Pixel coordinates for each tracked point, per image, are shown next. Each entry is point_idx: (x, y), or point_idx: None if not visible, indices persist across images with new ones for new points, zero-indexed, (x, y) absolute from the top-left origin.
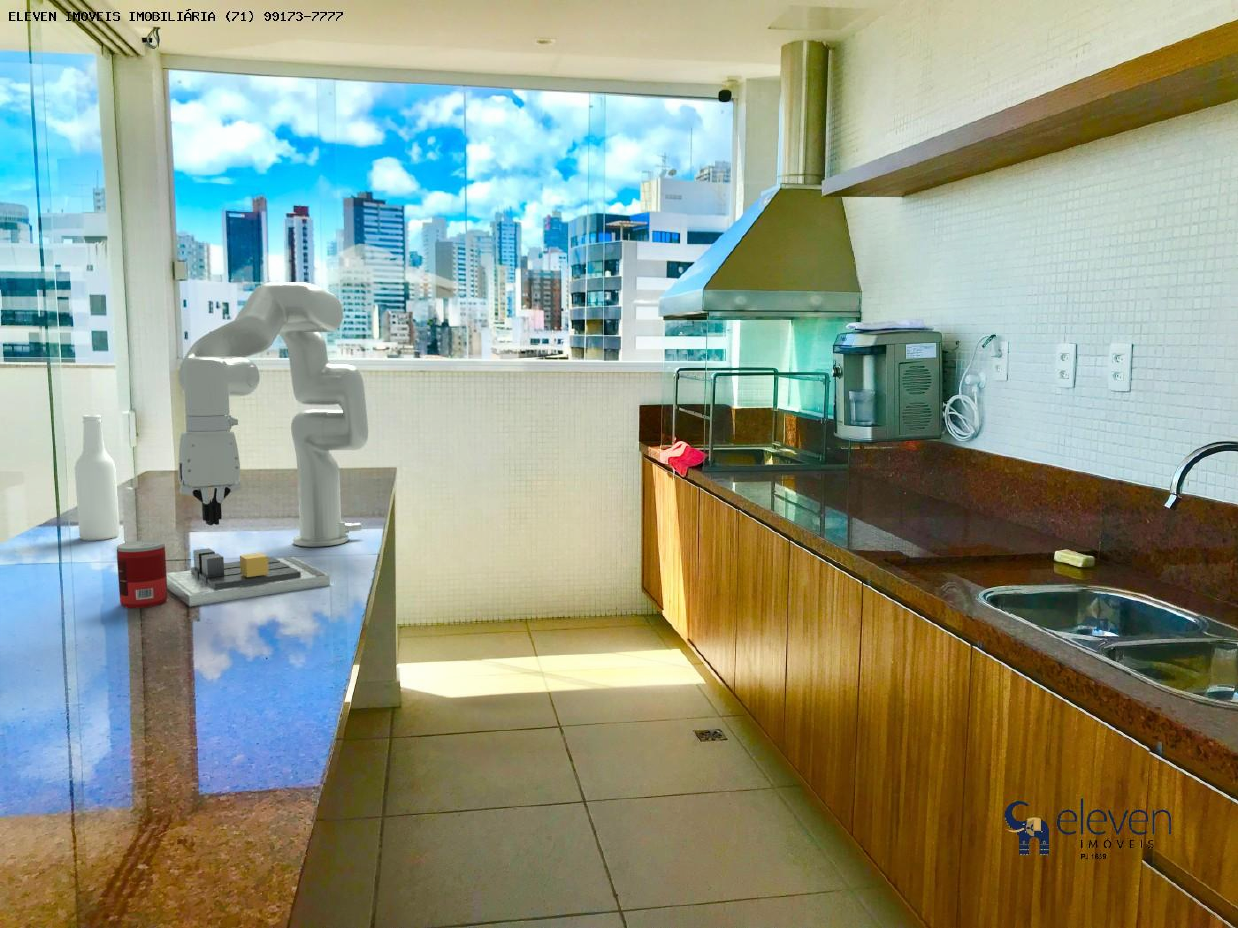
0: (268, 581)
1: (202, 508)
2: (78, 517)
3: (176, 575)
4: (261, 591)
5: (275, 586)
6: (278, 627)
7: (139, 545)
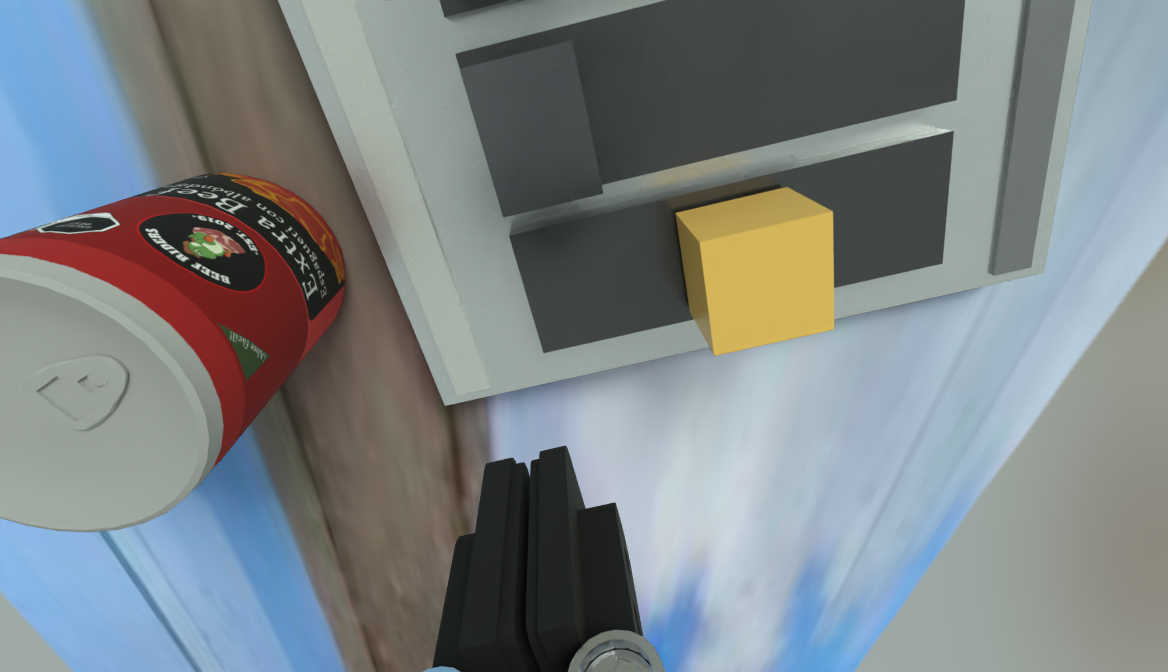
0: None
1: (444, 635)
2: None
3: None
4: None
5: None
6: (689, 643)
7: (21, 383)
